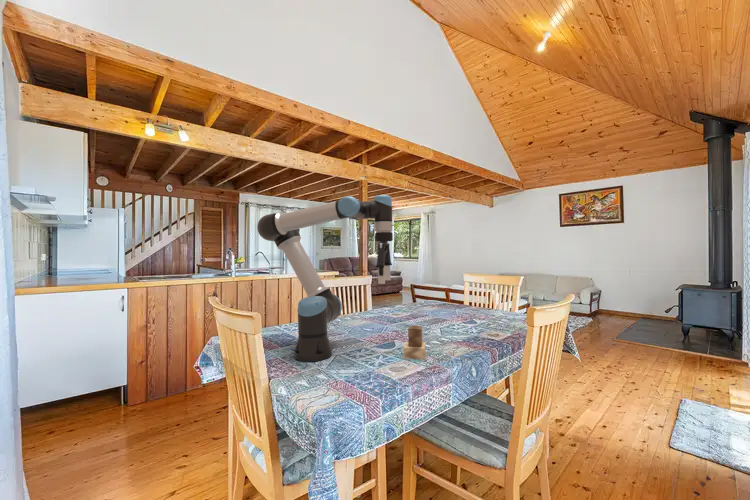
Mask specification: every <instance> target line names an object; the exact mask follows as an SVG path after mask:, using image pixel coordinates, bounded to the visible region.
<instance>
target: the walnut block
mask: <svg viewBox="0 0 750 500" xmlns="http://www.w3.org/2000/svg"><path fill="white" fill-rule="evenodd" d="M407 330H408V331H407V333H408V334H407V337H408V340H407V342H408V344H409V347H422V342H423V326H422V325H409V326H408V329H407Z"/></svg>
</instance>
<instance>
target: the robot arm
mask: <svg viewBox="0 0 750 500" xmlns="http://www.w3.org/2000/svg"><path fill="white" fill-rule="evenodd" d="M345 219H349V220H356V221H357V220H369V219H371V220H372V219H374V232H375V233H374V241H375V242H378V243H377V257H376V258H377V260H376V265H375V268H376V269H377V281H378V282H377V284H378V285H385V284H386V281H391V279H392V278H391V266H392V265H393V263H392V261H391V259H392V258H391V250H390V243H388V242H392V241H394V240H393V239H394V236H393V235H394V234H393V226H394V223H393V203H392V196H390V195H389V194H379V195H375V196H374V199H373V200H369V201H362V200H359V199H358V198H355V197H354V196H350V195H349V196H347V195H346V196H342V197H341V198H340V199H338V200H334V201H329V202H326V203H322V204H318V205H315V206H310V207H305V208H302V209H298V210H292V211H289V212H285V213H282V212H275V213H269V214H268V213H267V214H265V215H263V216H261V217H260V219H259V220H258V221H257V225H256V227H257V228H256V230H257V233H258V234H259V236H260V237H261V239H264V240H266V241H268V242H269V241H270V242H274V244H275V246H276V247H277V249H278V250H280V251H282V252H283V253H284V255H285V257H286V259H287V260H288V262H289V264H290V266H291V268H292V270H293V271H294V273H295V275H296V277H297V279H298V281H299V283H300V284H301V287H302V288H303V290H304V291H305V294H306V295H307V297H304V298H301V299H300V300H299V301H298V303H297V329H298V331H297V332H298V338H297V341H296V345H295V349H294V353H293V354H294V359H295V358H296V359H297V360H296V359H295V360H296V361H299V360H300V361H299V362H304V361H314V362H318V361H323V360H327V359H329V358H330V357H332V356H333V347H332V344H331V342H330V340H329V337H328V324H329V323H330V322H331V323H332V322H334V321H335V320H336V319H337V318H338V317H339V316H340V315H341V314H342V313H341V312H342V309H343V304H342V301H341V299H340V298H339V297H338V296H337V295H335V294H333V292H332V291H331V288H330V287H327V286H325V285H324V283H323V281H322V279H321V277H320V275H319V273H318V271H316V268H315V267H314V265H313V263H312V261H311V259H310V258H309V256H308V254H307V252H306V251H305V249H304V246H303V245H302V243H301V239H302V236H301V235H300V234H301V233H300V229H304V228H308V227H312V226H317V225H321V224H326V223H330V222H334V221H339V220H345Z"/></svg>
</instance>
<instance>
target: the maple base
mask: <svg viewBox="0 0 750 500" xmlns="http://www.w3.org/2000/svg"><path fill="white" fill-rule="evenodd" d="M426 346H427V345H426V342H425V341H424V342H423V341H422V347H409V344H408V341H405V343H404V345H403V354H404V358H413V359H412V360H420V359H425V354H426V352H427V349H426Z"/></svg>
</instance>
